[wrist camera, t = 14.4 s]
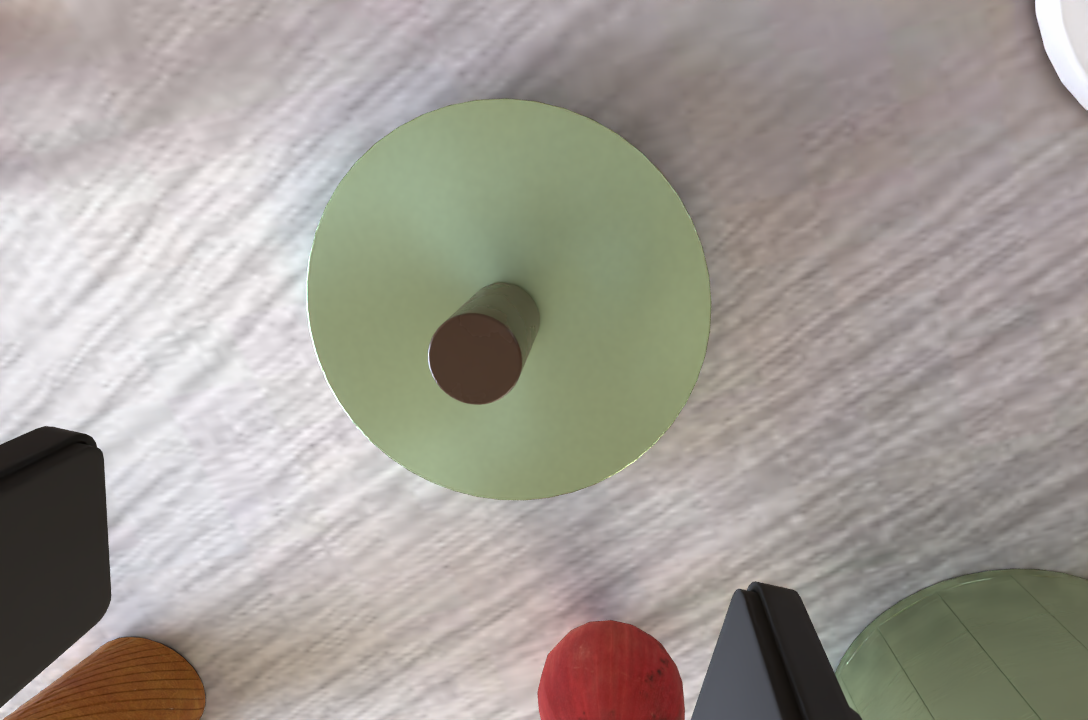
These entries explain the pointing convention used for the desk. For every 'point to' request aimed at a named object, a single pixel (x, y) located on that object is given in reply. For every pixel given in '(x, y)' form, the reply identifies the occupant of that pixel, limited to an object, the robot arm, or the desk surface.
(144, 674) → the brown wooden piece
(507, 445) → the pot lid
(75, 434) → the robot arm
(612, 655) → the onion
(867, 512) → the desk surface
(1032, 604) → the pot
